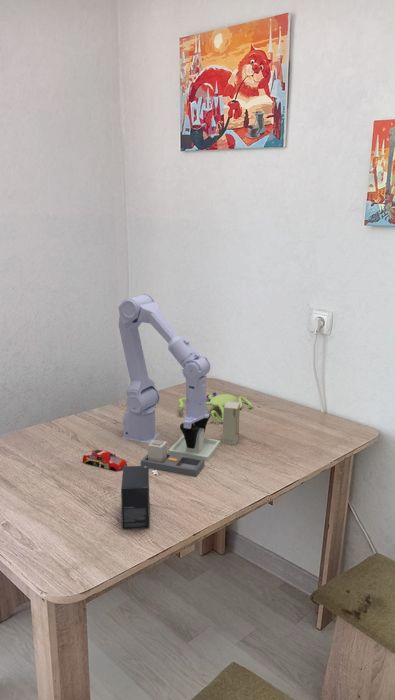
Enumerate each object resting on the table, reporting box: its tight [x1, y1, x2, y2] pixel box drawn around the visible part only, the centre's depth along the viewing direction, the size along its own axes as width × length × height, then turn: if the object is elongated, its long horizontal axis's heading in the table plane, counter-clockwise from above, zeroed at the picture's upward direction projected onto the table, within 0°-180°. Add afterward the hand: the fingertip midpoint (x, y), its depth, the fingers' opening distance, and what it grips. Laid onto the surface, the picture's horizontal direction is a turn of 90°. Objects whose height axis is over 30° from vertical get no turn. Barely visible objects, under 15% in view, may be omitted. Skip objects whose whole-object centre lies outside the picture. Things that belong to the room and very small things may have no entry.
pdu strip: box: [140, 452, 206, 478], centre depth 154 cm, size 16×7×3 cm, turn 70°
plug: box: [186, 428, 205, 453], centre depth 164 cm, size 4×4×6 cm
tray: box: [167, 434, 222, 462], centre depth 165 cm, size 12×12×2 cm
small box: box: [120, 465, 151, 530], centre depth 130 cm, size 11×6×10 cm, turn 5°
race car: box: [82, 449, 128, 473], centre depth 155 cm, size 13×5×4 cm, turn 63°
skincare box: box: [221, 401, 241, 446], centre depth 170 cm, size 6×4×12 cm
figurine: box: [178, 392, 253, 426], centre depth 197 cm, size 18×27×6 cm
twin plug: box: [147, 439, 168, 463], centre depth 155 cm, size 4×4×6 cm
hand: (195, 442), depth 165 cm, fingers open, 7 cm apart
